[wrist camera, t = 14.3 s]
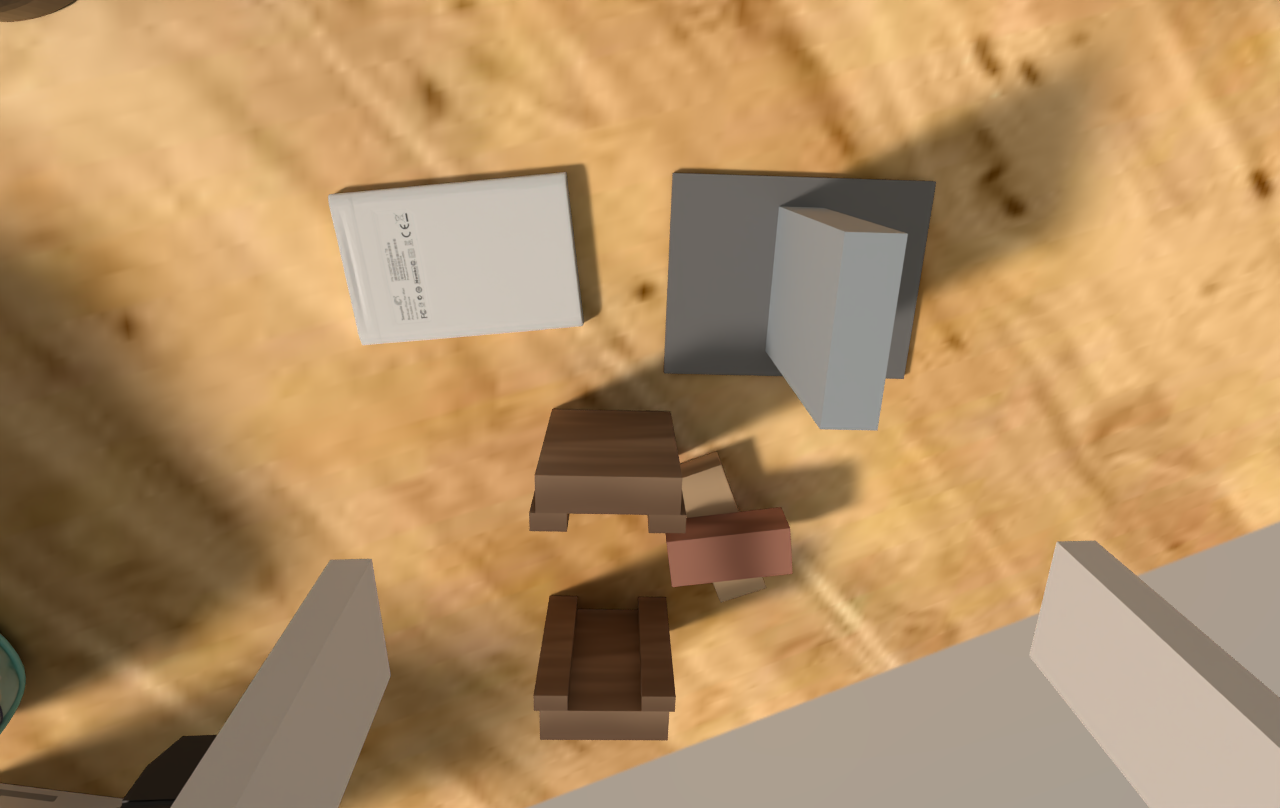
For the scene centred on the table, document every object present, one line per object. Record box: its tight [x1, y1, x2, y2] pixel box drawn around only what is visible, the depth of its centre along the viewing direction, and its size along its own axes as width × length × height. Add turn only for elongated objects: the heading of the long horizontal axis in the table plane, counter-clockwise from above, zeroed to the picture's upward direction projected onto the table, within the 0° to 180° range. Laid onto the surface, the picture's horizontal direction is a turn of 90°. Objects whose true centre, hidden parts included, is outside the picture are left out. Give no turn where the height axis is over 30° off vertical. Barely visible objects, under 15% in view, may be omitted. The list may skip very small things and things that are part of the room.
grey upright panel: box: [765, 206, 908, 430], centre depth 34 cm, size 8×2×12 cm, turn 178°
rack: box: [529, 409, 687, 740], centre depth 41 cm, size 16×8×9 cm, turn 178°
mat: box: [664, 173, 936, 379], centre depth 40 cm, size 11×14×1 cm
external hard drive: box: [328, 172, 584, 345], centre depth 39 cm, size 2×8×12 cm
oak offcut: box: [680, 451, 766, 602], centre depth 44 cm, size 9×3×2 cm, turn 21°
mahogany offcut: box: [666, 507, 792, 587], centre depth 42 cm, size 7×3×2 cm, turn 97°
